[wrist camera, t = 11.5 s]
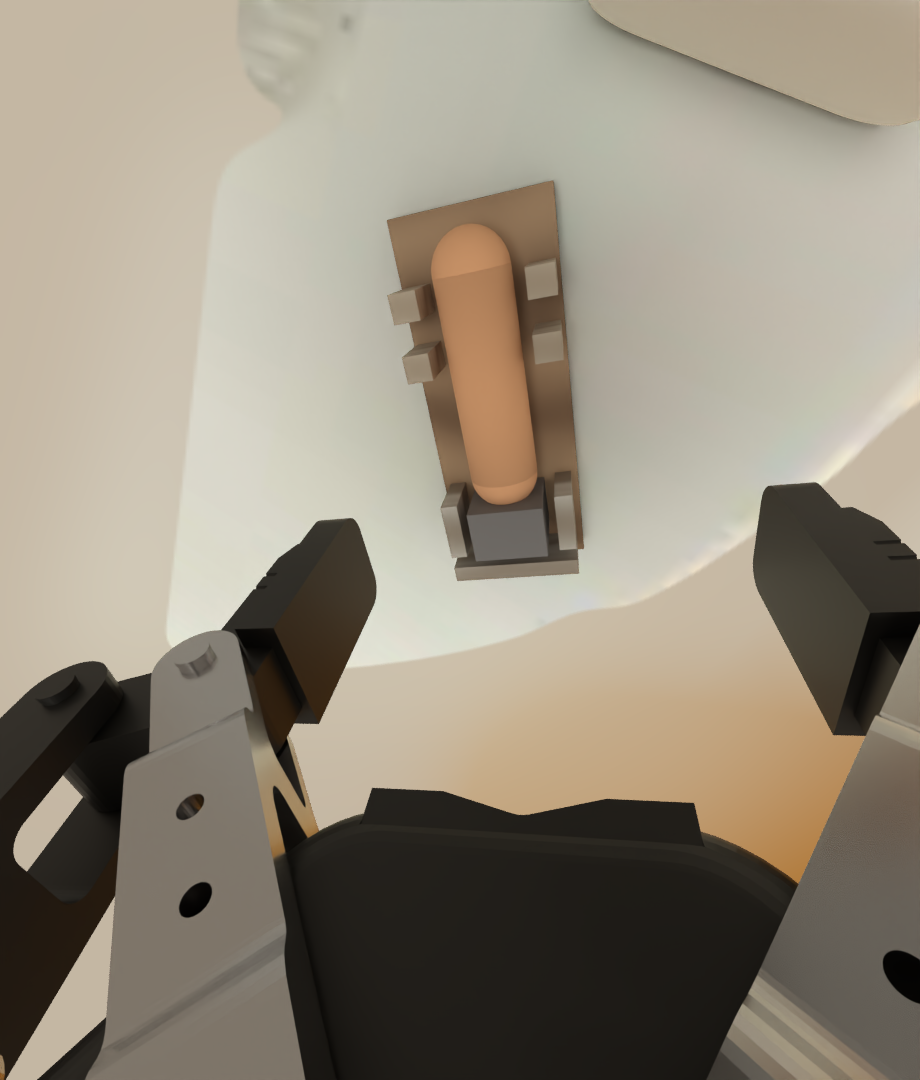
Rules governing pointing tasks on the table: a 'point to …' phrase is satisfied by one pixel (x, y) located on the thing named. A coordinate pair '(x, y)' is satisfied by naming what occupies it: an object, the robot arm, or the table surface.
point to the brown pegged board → (540, 309)
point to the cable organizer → (796, 47)
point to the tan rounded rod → (490, 393)
